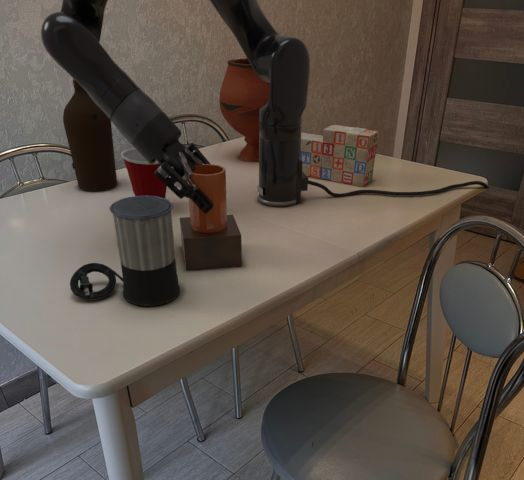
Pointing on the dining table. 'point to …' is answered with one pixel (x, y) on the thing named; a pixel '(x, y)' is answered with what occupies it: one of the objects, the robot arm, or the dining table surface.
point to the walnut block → (211, 246)
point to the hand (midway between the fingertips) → (216, 202)
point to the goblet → (244, 103)
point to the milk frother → (138, 254)
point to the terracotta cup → (214, 188)
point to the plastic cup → (143, 175)
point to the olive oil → (89, 142)
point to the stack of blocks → (340, 154)
